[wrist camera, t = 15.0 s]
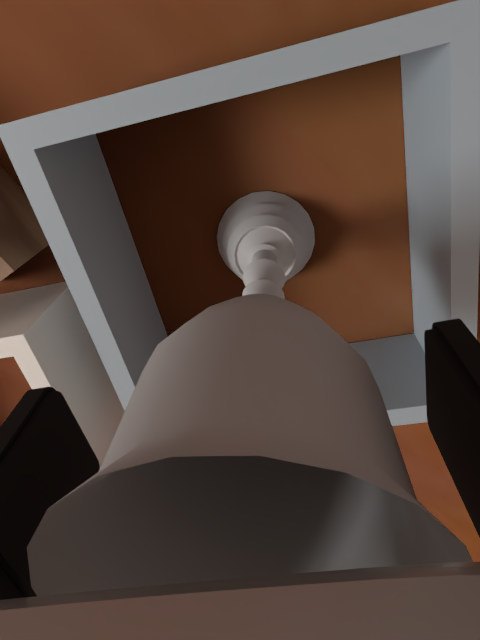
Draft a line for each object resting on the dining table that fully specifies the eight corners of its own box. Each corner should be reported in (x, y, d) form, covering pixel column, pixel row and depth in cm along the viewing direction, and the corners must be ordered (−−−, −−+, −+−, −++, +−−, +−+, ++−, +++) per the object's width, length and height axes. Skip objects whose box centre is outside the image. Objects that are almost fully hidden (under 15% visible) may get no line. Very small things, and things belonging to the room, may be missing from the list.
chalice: (180, 273, 24) (8, 647, 8) (219, 149, 21) (56, 382, 5) (304, 316, 25) (358, 731, 9) (360, 203, 22) (593, 550, 6)
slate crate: (66, 113, 20) (-6, 125, 15) (424, 16, 18) (486, -8, 13) (169, 384, 28) (145, 455, 23) (432, 345, 25) (474, 416, 20)
